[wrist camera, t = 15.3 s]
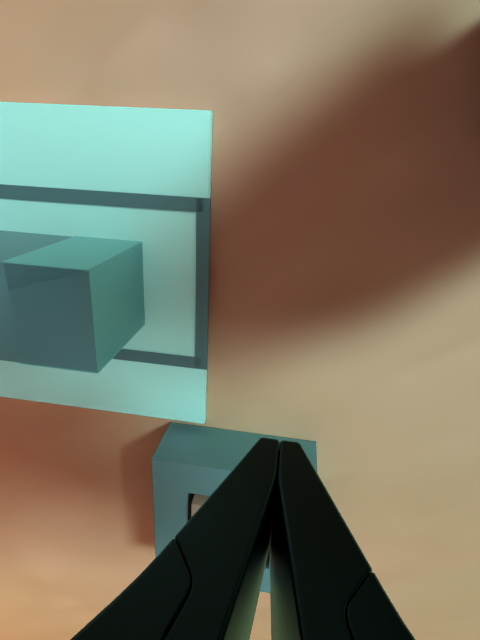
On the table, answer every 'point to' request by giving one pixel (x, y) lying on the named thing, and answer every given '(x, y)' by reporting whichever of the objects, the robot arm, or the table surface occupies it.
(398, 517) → the table surface
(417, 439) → the table surface
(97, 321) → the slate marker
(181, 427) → the button frame
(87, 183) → the paper sheet
